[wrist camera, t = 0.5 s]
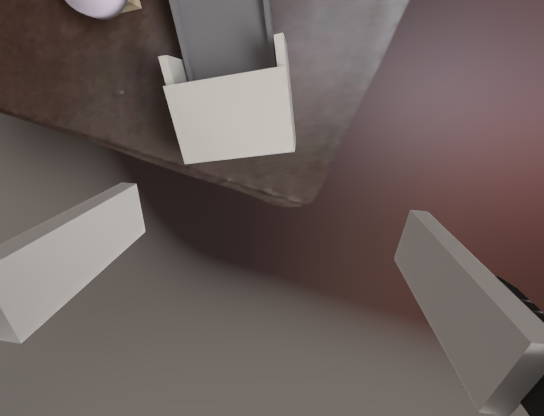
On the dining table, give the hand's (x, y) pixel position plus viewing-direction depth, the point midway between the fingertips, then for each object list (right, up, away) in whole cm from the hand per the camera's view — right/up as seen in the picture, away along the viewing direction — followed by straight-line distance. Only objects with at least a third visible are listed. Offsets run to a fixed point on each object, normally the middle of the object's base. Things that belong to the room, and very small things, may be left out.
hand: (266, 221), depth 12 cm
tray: (-5, +23, +18) cm, 30 cm away
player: (-4, +15, +22) cm, 27 cm away
